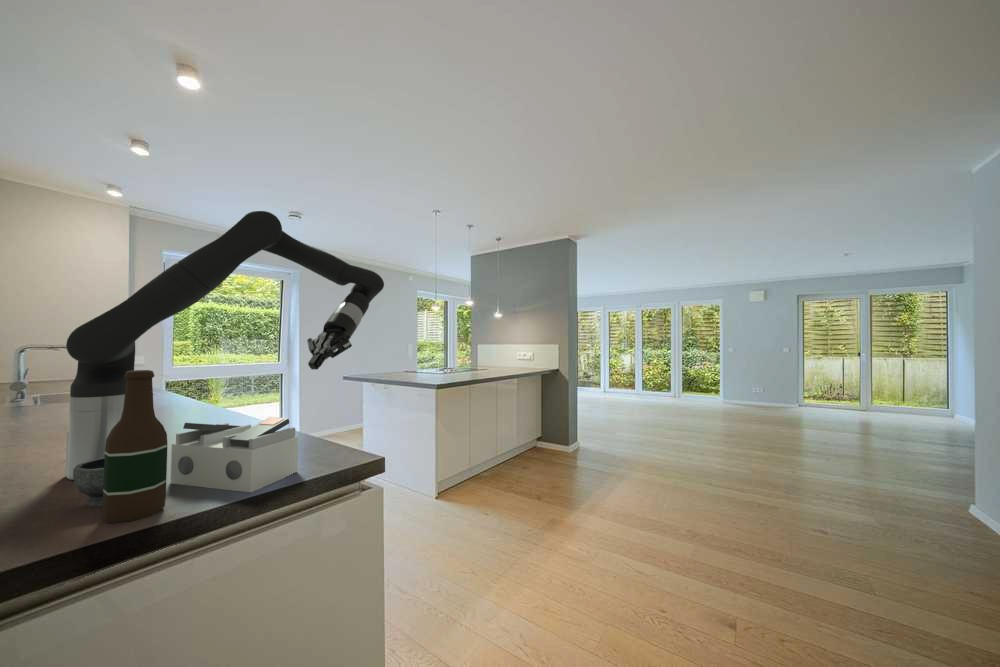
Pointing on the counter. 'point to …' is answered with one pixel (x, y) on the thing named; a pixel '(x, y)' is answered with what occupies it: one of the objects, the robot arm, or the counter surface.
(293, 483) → the counter surface
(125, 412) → the beer bottle
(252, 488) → the box
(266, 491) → the counter surface
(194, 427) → the bar
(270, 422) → the rocker
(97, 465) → the mortar and pestle
